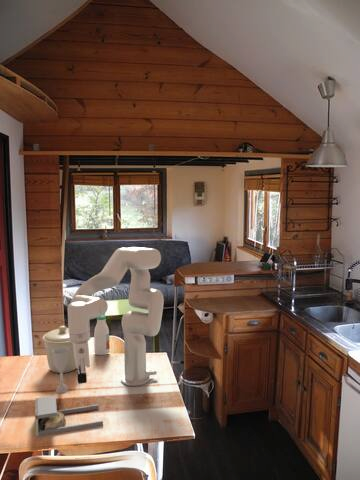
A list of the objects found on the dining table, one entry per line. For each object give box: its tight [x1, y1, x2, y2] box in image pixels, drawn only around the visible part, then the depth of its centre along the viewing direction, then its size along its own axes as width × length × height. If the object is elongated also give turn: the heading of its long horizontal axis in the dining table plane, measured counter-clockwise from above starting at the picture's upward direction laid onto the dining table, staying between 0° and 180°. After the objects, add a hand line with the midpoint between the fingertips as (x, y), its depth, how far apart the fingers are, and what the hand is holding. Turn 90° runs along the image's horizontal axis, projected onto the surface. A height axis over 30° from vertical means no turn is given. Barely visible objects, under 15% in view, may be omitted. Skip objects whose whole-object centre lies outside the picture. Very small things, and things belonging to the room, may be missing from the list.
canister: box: [42, 325, 77, 374], centre depth 206 cm, size 18×18×21 cm
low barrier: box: [34, 395, 104, 437], centre depth 161 cm, size 23×13×8 cm, turn 108°
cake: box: [39, 412, 67, 431], centre depth 159 cm, size 10×10×5 cm
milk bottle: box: [93, 314, 111, 356], centre depth 225 cm, size 8×8×20 cm
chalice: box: [52, 347, 69, 394], centre depth 184 cm, size 7×7×18 cm
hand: (82, 382), depth 162 cm, fingers closed
